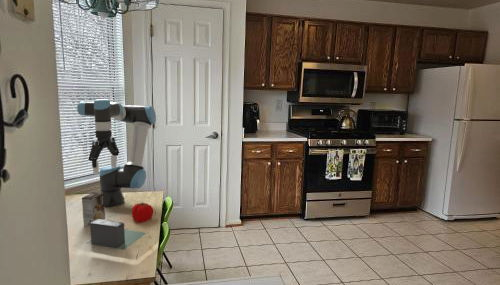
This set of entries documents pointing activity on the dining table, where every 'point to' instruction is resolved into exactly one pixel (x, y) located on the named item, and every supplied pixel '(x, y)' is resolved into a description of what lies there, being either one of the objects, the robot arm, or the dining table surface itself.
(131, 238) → the board
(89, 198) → the coffee box
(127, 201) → the dining table surface
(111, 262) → the dining table surface
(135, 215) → the tomato
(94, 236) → the housing
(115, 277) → the dining table surface
